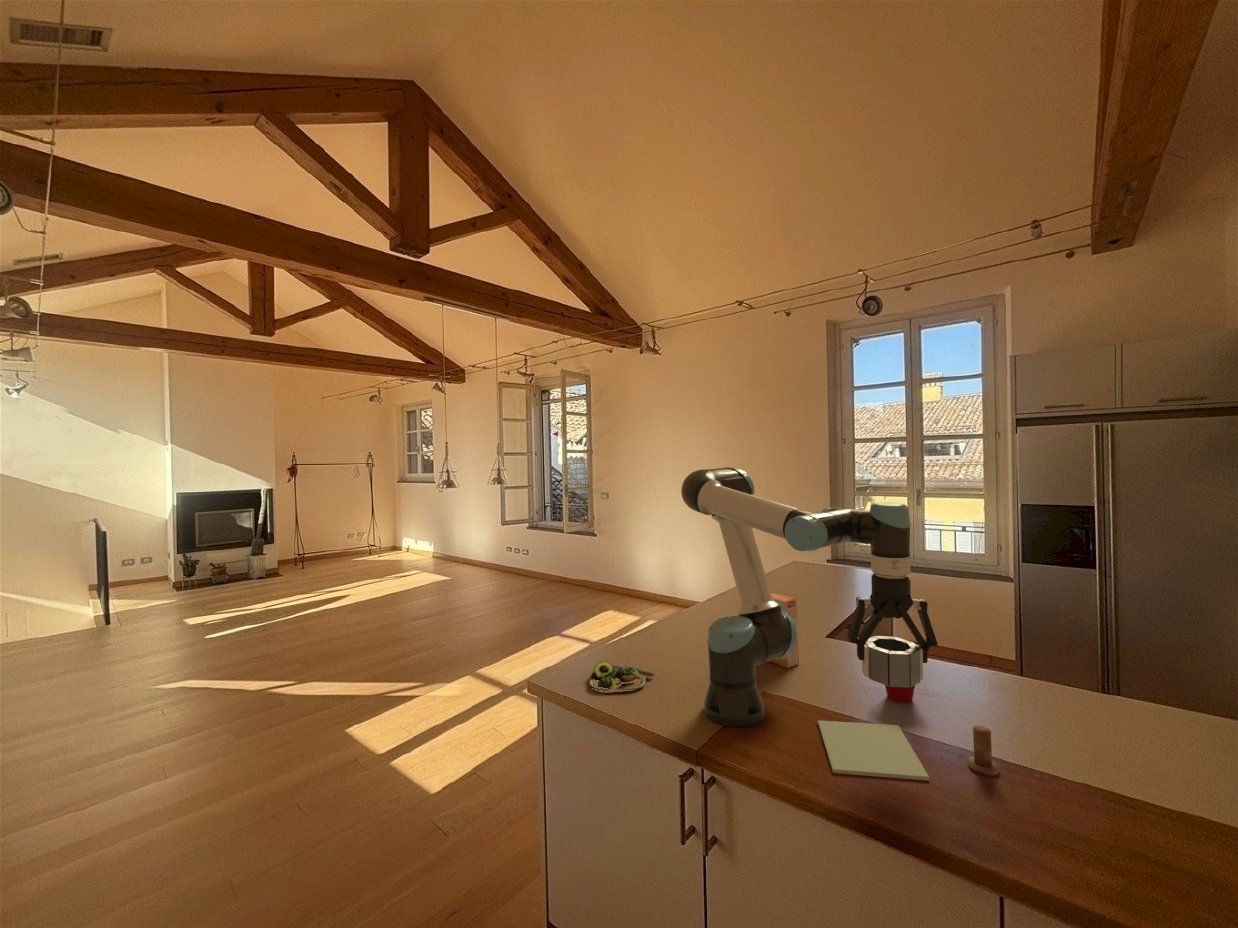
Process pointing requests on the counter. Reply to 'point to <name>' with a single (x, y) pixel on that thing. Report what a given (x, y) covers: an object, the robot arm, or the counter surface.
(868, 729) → the sage mat
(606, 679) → the salad plate
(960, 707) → the counter surface
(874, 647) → the grey hollow octagonal ring
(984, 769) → the tan peg with base
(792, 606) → the cracker box
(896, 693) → the plastic cup
